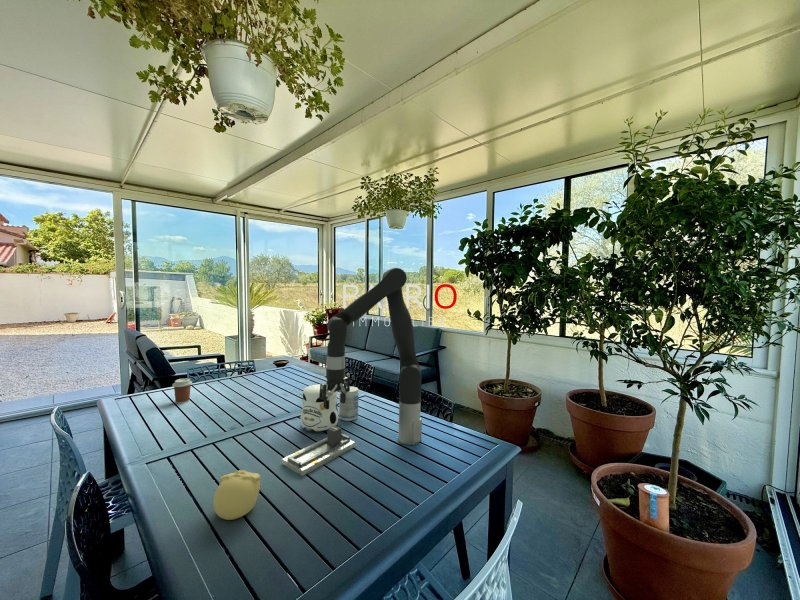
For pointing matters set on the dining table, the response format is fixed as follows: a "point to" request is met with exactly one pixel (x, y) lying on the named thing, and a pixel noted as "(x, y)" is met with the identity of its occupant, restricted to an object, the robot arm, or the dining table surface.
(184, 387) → the coffee cup
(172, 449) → the dining table surface
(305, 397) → the milk container
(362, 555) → the dining table surface
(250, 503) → the yellow rounded piece
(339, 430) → the fader knob
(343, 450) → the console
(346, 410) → the supplement tub
